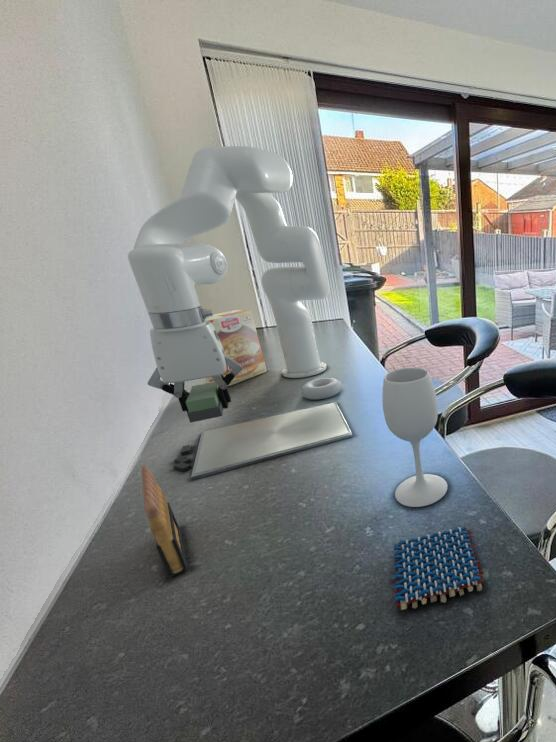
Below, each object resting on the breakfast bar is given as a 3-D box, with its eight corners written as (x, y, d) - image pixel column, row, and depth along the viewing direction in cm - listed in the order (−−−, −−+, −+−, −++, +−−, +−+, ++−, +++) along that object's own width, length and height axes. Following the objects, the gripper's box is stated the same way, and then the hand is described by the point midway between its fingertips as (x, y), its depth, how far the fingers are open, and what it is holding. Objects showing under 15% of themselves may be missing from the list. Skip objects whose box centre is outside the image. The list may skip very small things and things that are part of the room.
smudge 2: (175, 463, 77) (173, 459, 77) (183, 459, 78) (181, 456, 78) (183, 466, 76) (182, 462, 76) (191, 462, 77) (190, 458, 77)
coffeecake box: (222, 389, 112) (201, 321, 105) (205, 386, 115) (183, 320, 108) (268, 371, 125) (252, 310, 118) (252, 369, 128) (235, 309, 121)
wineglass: (422, 514, 61) (406, 390, 54) (384, 496, 66) (363, 379, 58) (458, 484, 68) (447, 370, 60) (420, 470, 73) (406, 361, 65)
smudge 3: (174, 469, 75) (173, 465, 75) (182, 465, 76) (180, 462, 76) (184, 472, 74) (183, 468, 74) (192, 468, 75) (190, 464, 75)
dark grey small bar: (191, 444, 82) (192, 447, 83) (182, 446, 82) (183, 449, 82) (189, 450, 80) (190, 453, 80) (180, 452, 79) (182, 455, 80)
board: (202, 434, 88) (201, 431, 87) (336, 403, 101) (335, 401, 101) (192, 480, 72) (190, 476, 71) (352, 436, 85) (352, 433, 85)
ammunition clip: (187, 570, 53) (156, 496, 48) (170, 578, 51) (135, 503, 47) (179, 528, 60) (151, 461, 56) (164, 535, 59) (134, 466, 54)
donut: (295, 402, 103) (333, 401, 102) (292, 390, 101) (330, 389, 101) (313, 387, 112) (348, 386, 112) (310, 376, 111) (346, 375, 110)
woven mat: (486, 592, 48) (486, 579, 47) (397, 616, 46) (394, 604, 45) (469, 532, 58) (468, 521, 57) (394, 550, 55) (392, 538, 54)
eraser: (196, 403, 81) (190, 385, 80) (225, 398, 84) (220, 380, 82) (190, 422, 73) (183, 403, 72) (222, 416, 76) (216, 396, 74)
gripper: (234, 309, 79) (258, 393, 85) (122, 321, 71) (158, 413, 78) (233, 316, 73) (258, 406, 79) (109, 330, 65) (150, 428, 72)
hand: (208, 408), depth 78 cm, fingers closed on eraser, 5 cm apart
